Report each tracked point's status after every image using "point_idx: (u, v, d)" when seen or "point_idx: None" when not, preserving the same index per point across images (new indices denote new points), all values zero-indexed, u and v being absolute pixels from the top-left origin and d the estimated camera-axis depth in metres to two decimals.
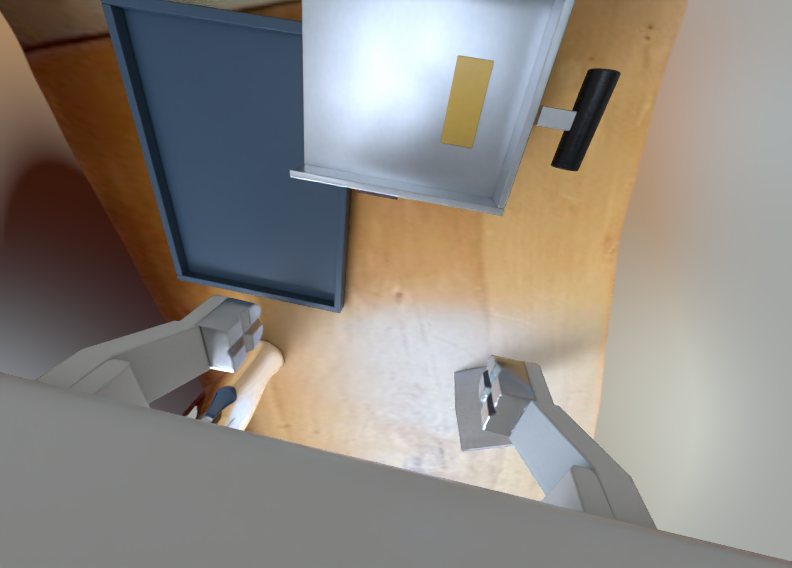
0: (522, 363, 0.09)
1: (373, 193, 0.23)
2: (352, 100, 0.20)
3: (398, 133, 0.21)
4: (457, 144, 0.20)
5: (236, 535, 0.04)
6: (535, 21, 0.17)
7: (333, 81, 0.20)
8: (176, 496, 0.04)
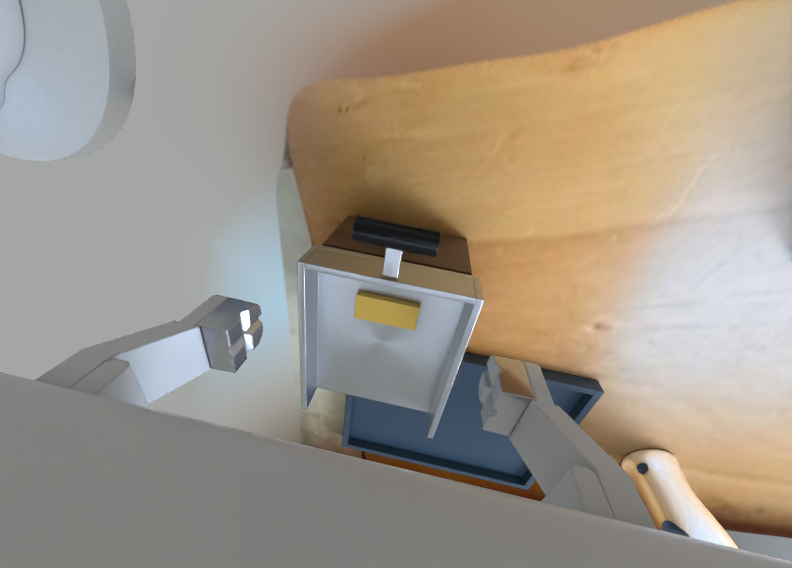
0: (522, 363, 0.09)
1: (456, 375, 0.25)
2: (385, 377, 0.27)
3: (407, 353, 0.25)
4: (416, 318, 0.22)
5: (235, 535, 0.04)
6: None
7: (373, 384, 0.27)
8: (176, 496, 0.04)
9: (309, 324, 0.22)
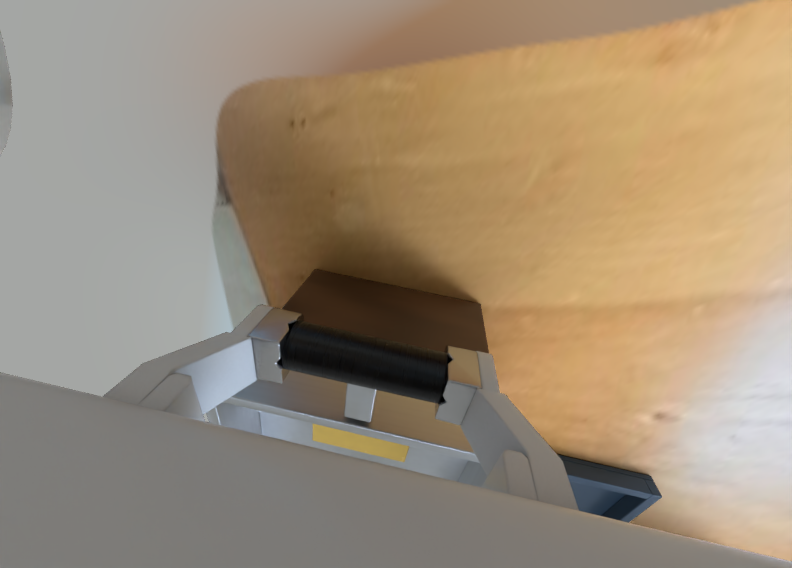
0: (475, 352, 0.09)
1: None
2: None
3: None
4: (406, 449, 0.14)
5: (236, 535, 0.04)
6: None
7: None
8: (176, 496, 0.04)
9: None
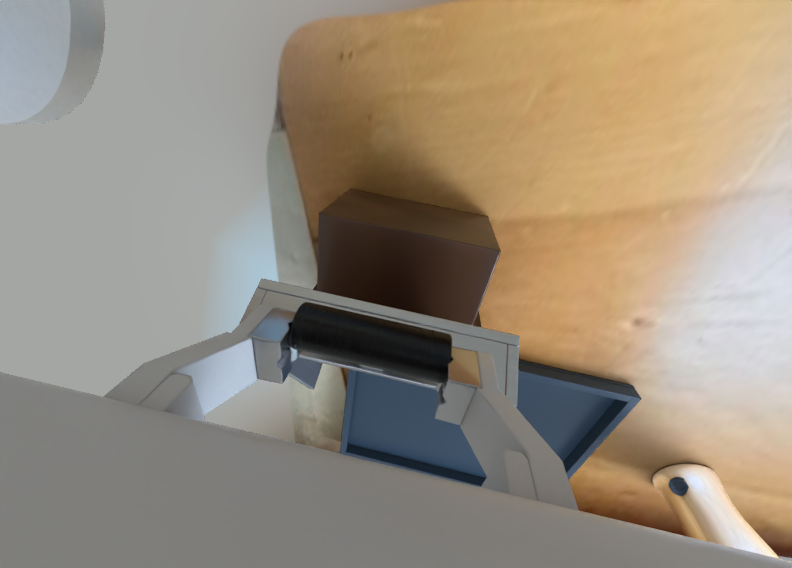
0: (475, 352, 0.09)
1: None
2: None
3: None
4: None
5: (235, 535, 0.04)
6: None
7: None
8: (176, 496, 0.04)
9: None
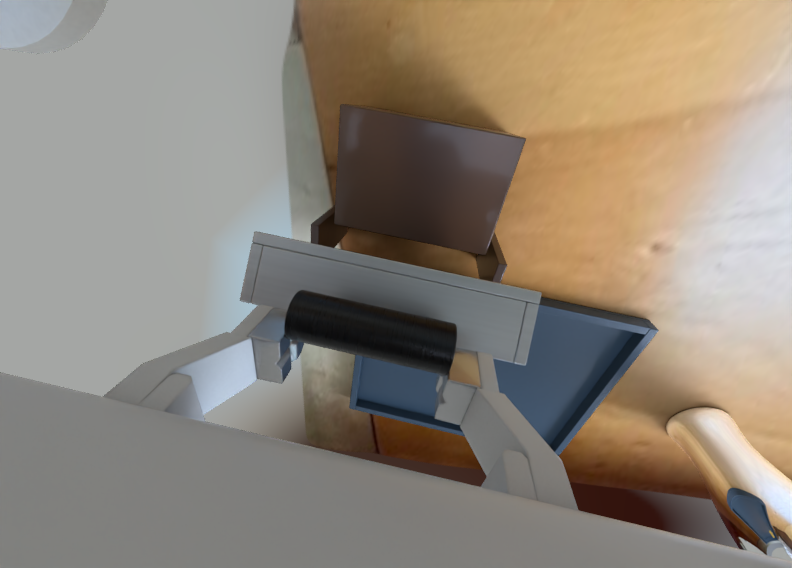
0: (475, 352, 0.09)
1: None
2: None
3: None
4: None
5: (236, 535, 0.04)
6: None
7: None
8: (176, 496, 0.04)
9: None
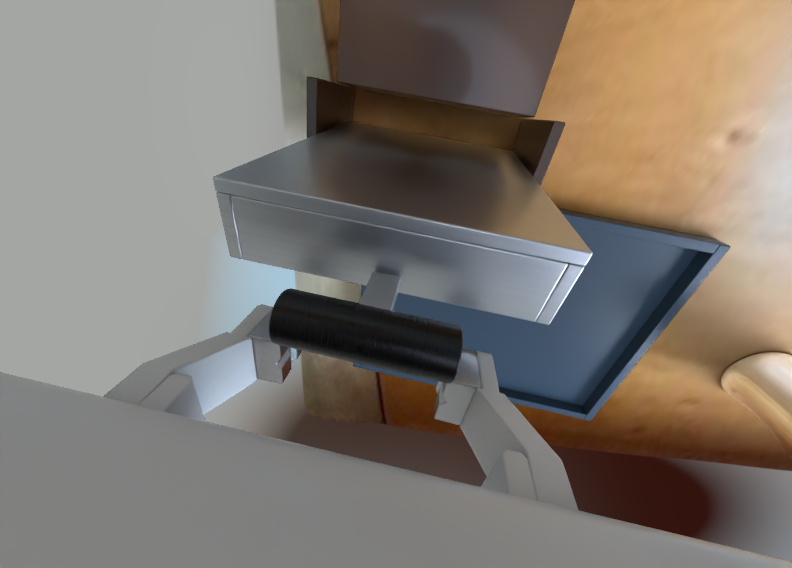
0: (475, 352, 0.09)
1: (547, 161, 0.16)
2: None
3: None
4: None
5: (236, 535, 0.04)
6: None
7: None
8: (176, 496, 0.04)
9: None
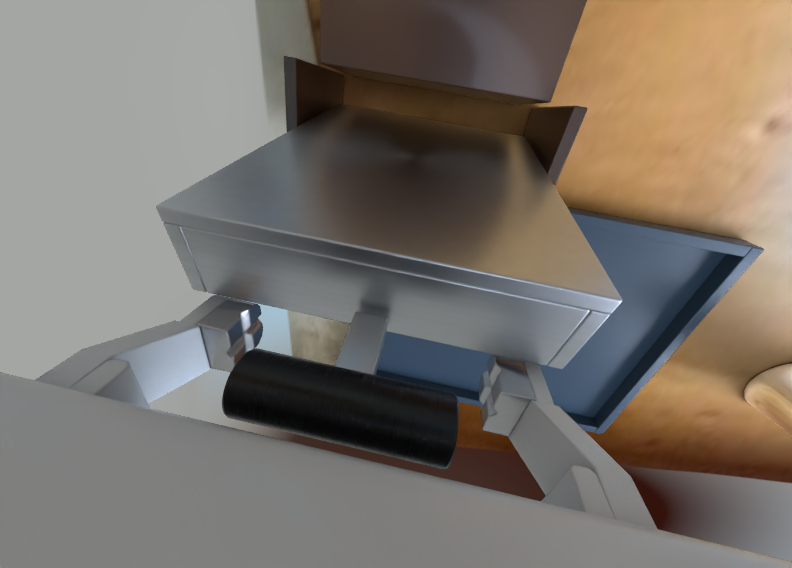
0: (522, 363, 0.09)
1: (565, 154, 0.14)
2: None
3: None
4: None
5: (235, 535, 0.04)
6: None
7: None
8: (176, 496, 0.04)
9: None
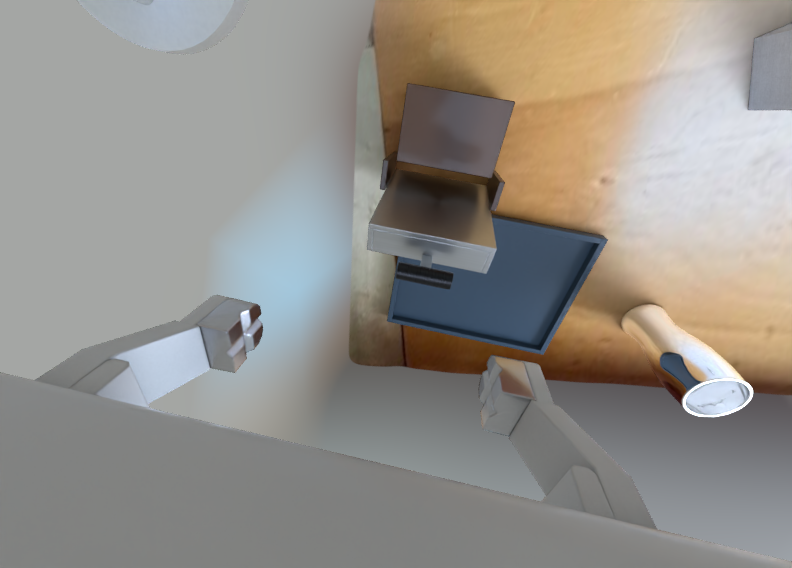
0: (522, 363, 0.09)
1: (498, 199, 0.34)
2: None
3: None
4: None
5: (235, 536, 0.04)
6: None
7: None
8: (176, 496, 0.04)
9: None
